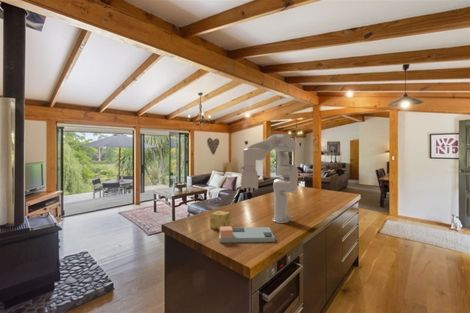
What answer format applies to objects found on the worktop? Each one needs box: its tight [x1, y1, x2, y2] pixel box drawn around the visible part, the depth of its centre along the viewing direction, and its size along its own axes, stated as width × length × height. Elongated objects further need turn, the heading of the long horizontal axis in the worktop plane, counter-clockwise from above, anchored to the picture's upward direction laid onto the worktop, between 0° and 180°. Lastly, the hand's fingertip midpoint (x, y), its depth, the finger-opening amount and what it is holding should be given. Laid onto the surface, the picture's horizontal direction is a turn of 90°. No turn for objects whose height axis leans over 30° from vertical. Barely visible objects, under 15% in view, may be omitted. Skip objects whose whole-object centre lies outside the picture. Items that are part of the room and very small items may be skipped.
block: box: [219, 225, 233, 238], centre depth 136 cm, size 7×7×4 cm
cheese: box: [209, 210, 232, 231], centre depth 159 cm, size 10×11×10 cm
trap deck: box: [218, 226, 276, 243], centre depth 142 cm, size 32×18×2 cm, turn 93°
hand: (249, 198), depth 142 cm, fingers closed
